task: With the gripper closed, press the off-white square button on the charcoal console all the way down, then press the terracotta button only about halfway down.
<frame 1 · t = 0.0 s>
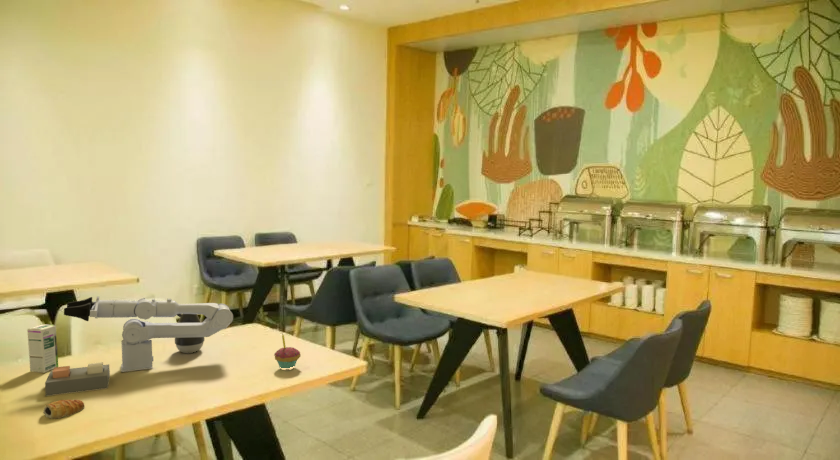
hand: (65, 308, 187), 22 cm above the table, tool horizontal, fingers open, 7 cm apart
cupcake: (287, 368, 198), on the table
console: (79, 385, 180), on the table
button a: (95, 370, 181), point 4 cm above the table, slide at 0.0 cm
pump dispenser: (189, 351, 215), on the table
button b: (61, 374, 177), point 4 cm above the table, slide at 0.0 cm
syrup box: (44, 370, 194), on the table
pastry: (62, 414, 160), on the table
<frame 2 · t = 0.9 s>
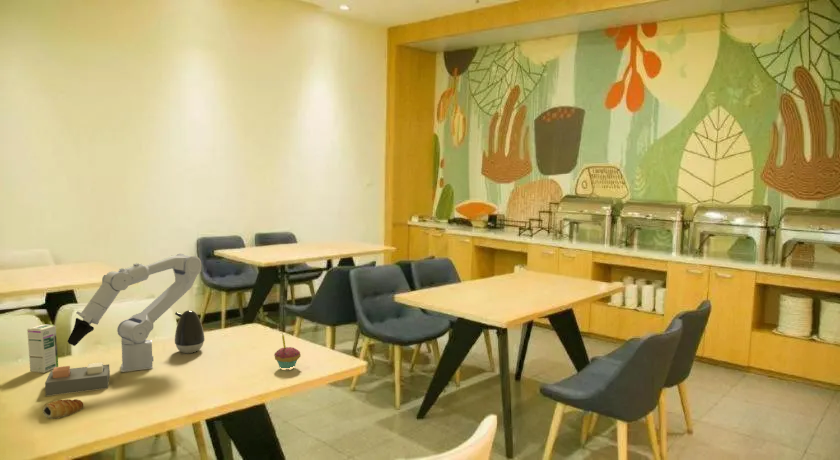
hand: (70, 344, 180), 13 cm above the table, tool tilted 40°, fingers open, 7 cm apart
nothing on the table moved.
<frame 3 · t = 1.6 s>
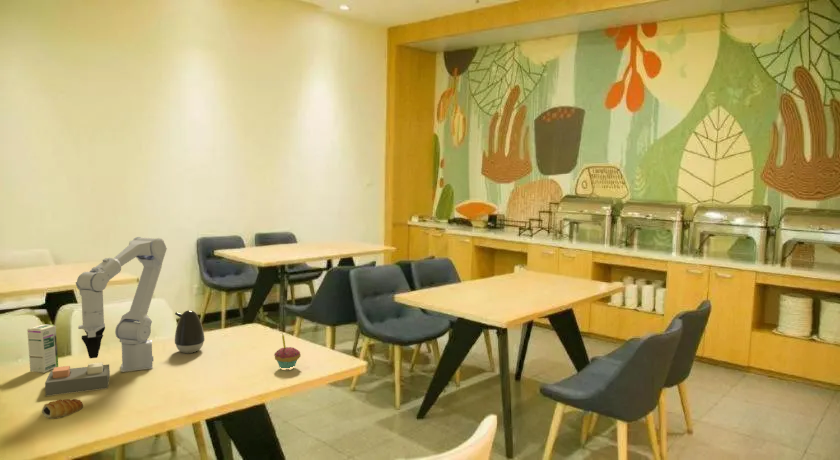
hand: (94, 354, 181), 9 cm above the table, tool pointing down, fingers open, 7 cm apart
nothing on the table moved.
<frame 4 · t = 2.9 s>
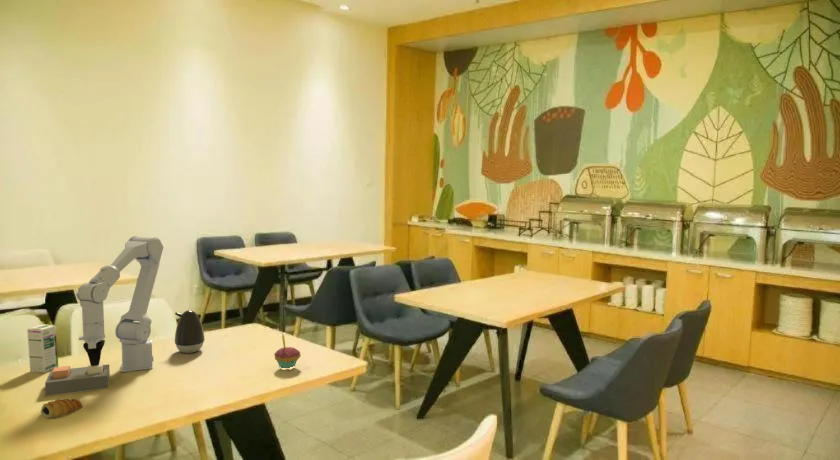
hand: (95, 365, 181), 6 cm above the table, tool pointing down, fingers closed, pressing on button a
button a: (95, 370, 181), point 4 cm above the table, slide at 0.0 cm, touching gripper
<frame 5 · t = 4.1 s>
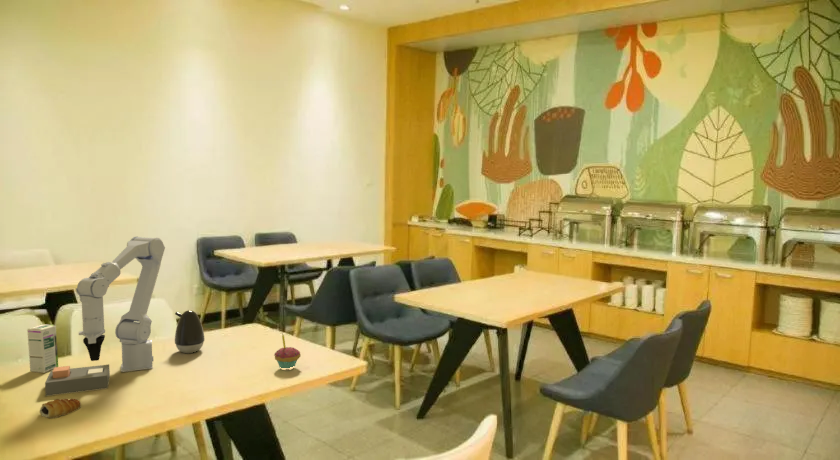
hand: (95, 360, 181), 8 cm above the table, tool pointing down, fingers closed
button a: (95, 376, 181), point 2 cm above the table, slide at 1.8 cm
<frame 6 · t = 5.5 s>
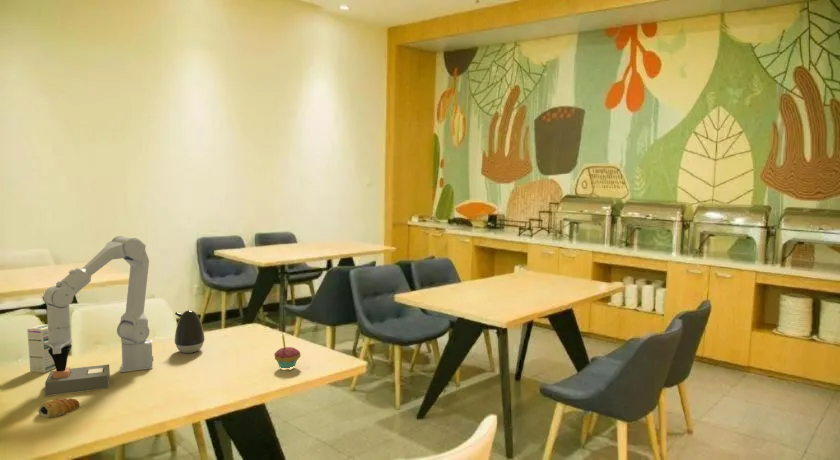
hand: (61, 370, 177), 5 cm above the table, tool pointing down, fingers closed, pressing on button b
button b: (61, 375, 177), point 4 cm above the table, slide at 0.5 cm, touching gripper
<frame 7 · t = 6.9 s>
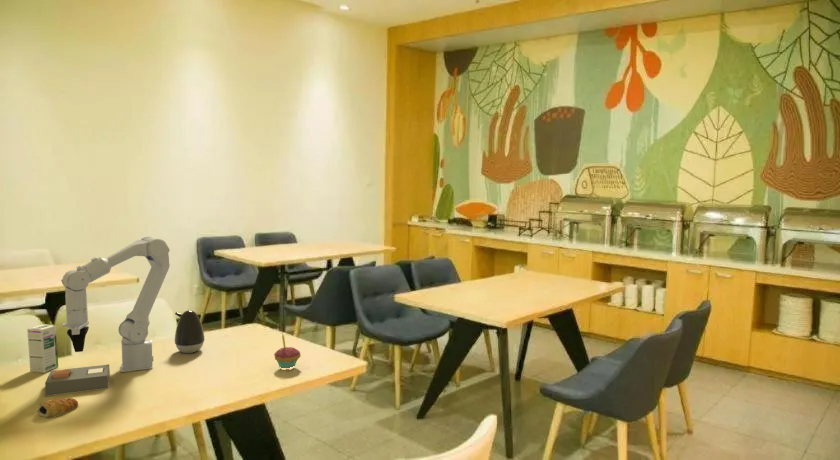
hand: (79, 351, 184), 9 cm above the table, tool pointing down, fingers closed
button b: (61, 377, 177), point 3 cm above the table, slide at 0.9 cm
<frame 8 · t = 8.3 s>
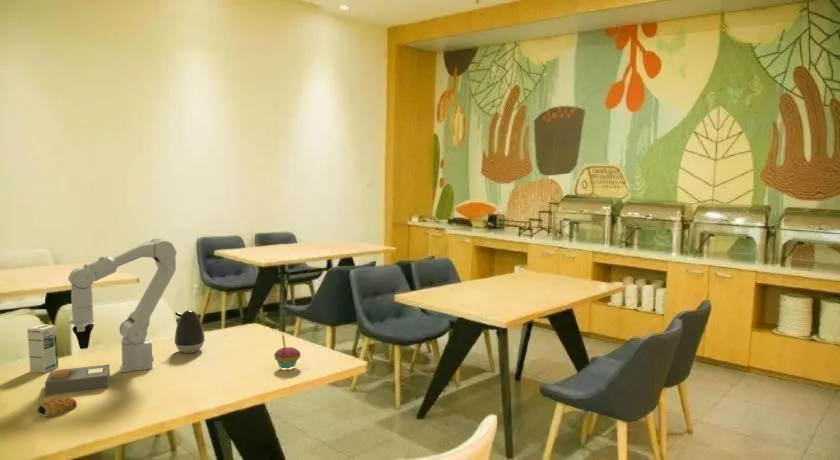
hand: (84, 348, 186), 9 cm above the table, tool pointing down, fingers closed
at the end: button a slide at 1.8 cm; button b slide at 0.9 cm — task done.
